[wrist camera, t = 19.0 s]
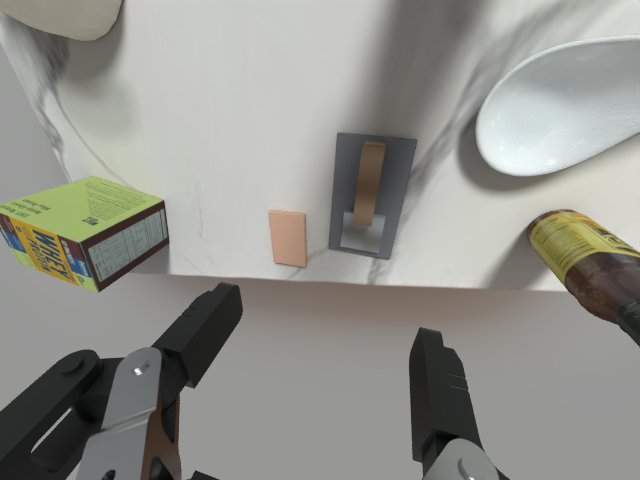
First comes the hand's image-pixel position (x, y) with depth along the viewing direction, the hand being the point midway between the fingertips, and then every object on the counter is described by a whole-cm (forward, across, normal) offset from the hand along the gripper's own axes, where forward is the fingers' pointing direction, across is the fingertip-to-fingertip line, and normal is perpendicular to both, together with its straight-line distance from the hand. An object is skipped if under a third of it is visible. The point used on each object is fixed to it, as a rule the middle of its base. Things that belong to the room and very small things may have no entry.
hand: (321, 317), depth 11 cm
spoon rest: (+29, -21, -10) cm, 37 cm away
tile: (+28, +12, +10) cm, 32 cm away
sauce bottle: (+28, -24, +6) cm, 38 cm away
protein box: (+28, +45, +15) cm, 55 cm away
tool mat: (+28, 0, +6) cm, 29 cm away
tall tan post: (+28, 0, +6) cm, 28 cm away
